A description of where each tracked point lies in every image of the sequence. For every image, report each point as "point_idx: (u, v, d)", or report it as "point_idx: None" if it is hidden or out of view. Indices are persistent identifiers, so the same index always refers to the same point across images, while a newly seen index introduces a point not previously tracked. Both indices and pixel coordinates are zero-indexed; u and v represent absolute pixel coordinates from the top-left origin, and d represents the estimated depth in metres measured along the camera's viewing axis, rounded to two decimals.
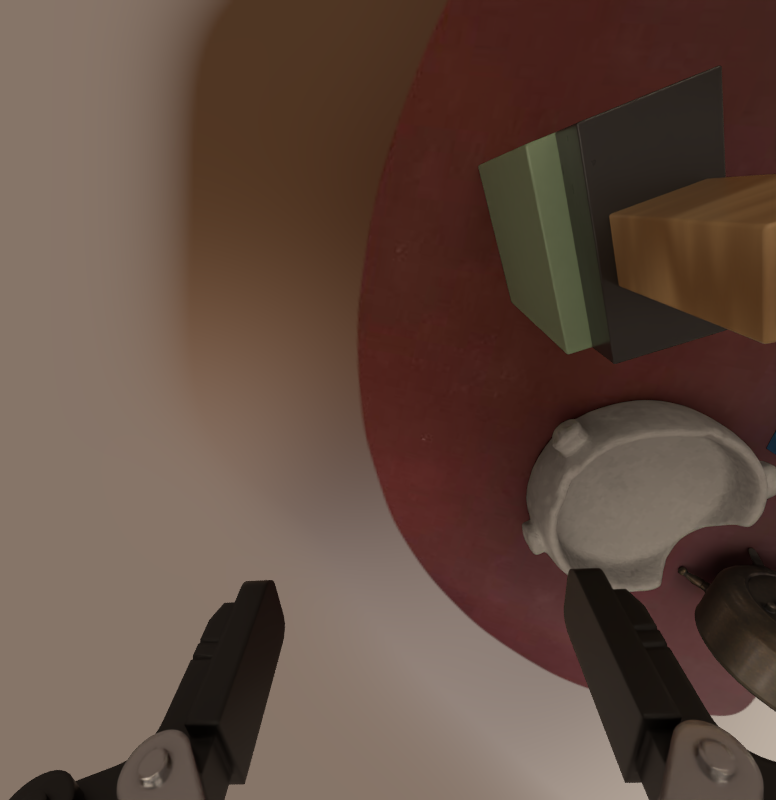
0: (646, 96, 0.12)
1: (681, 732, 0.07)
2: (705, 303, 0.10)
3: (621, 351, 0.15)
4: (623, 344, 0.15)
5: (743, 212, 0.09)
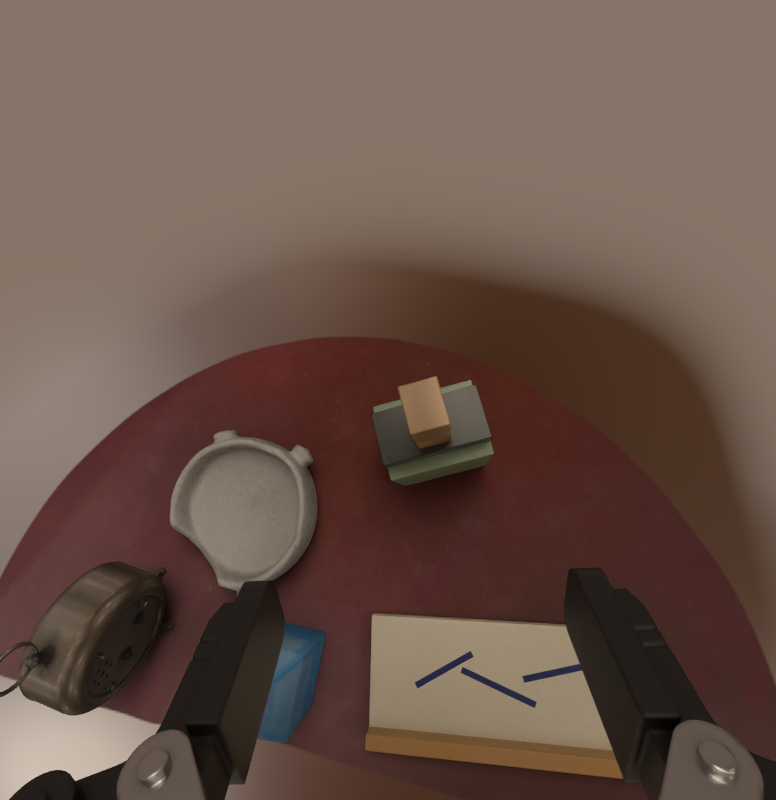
0: (483, 410, 0.31)
1: (681, 732, 0.07)
2: None
3: (377, 416, 0.32)
4: (380, 416, 0.32)
5: None
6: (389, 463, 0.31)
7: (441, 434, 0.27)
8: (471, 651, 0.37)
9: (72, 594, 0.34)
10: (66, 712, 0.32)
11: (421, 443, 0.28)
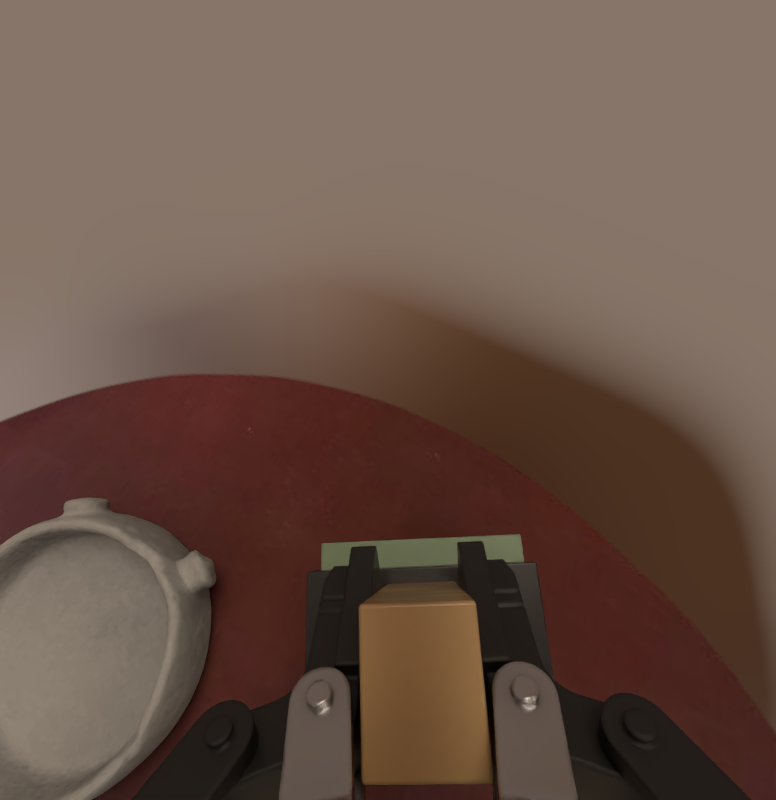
0: (544, 626, 0.14)
1: (503, 671, 0.08)
2: (389, 595, 0.10)
3: (318, 581, 0.15)
4: None
5: None
6: None
7: None
8: None
9: None
10: None
11: None
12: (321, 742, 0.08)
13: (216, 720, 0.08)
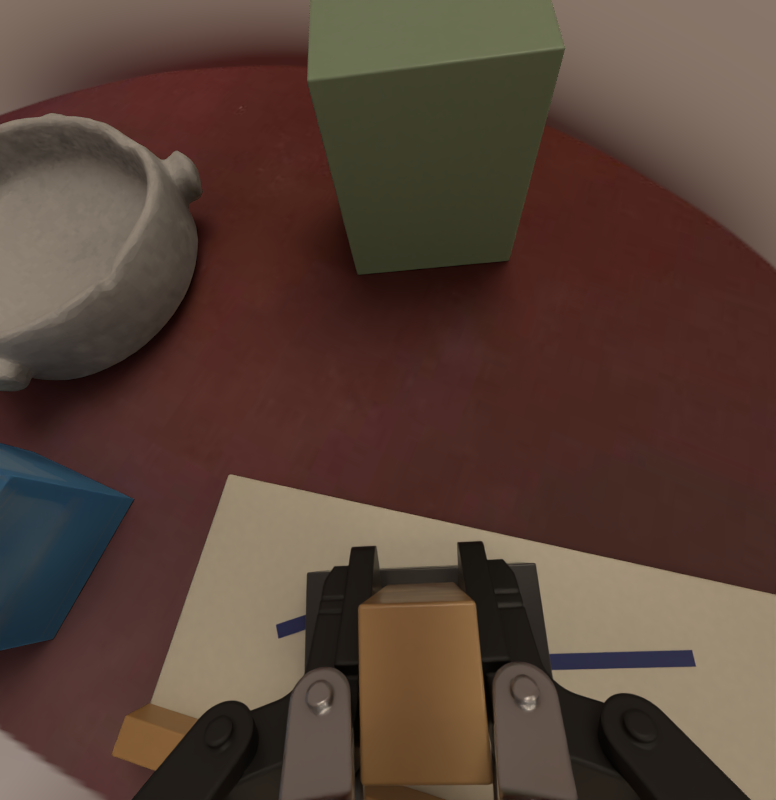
0: (544, 628, 0.14)
1: (503, 671, 0.08)
2: (388, 595, 0.10)
3: (318, 581, 0.15)
4: None
5: None
6: None
7: None
8: None
9: None
10: None
11: None
12: (321, 742, 0.08)
13: (216, 720, 0.08)
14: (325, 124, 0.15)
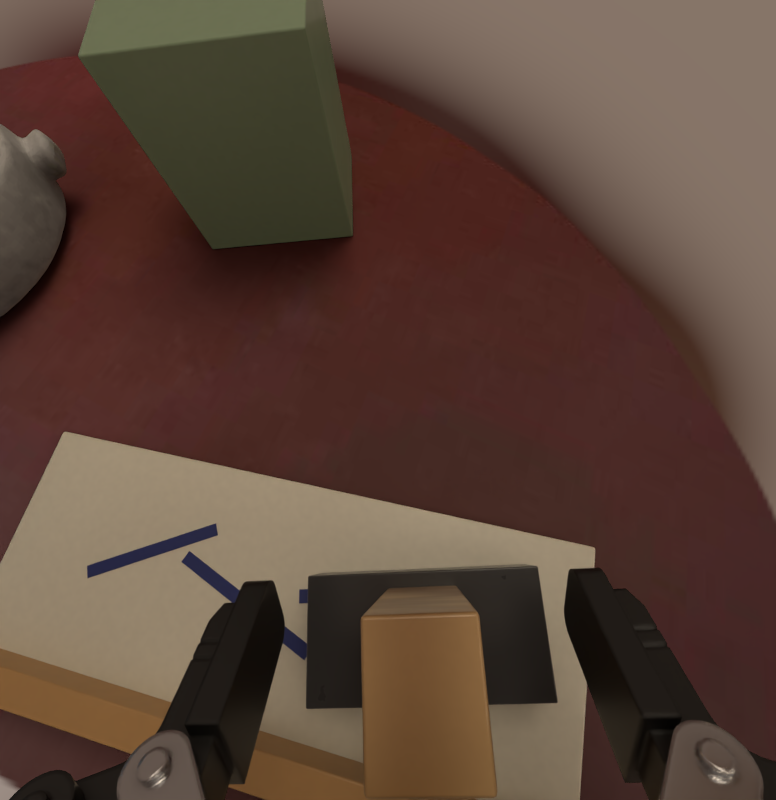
0: (546, 630, 0.14)
1: (681, 732, 0.07)
2: (390, 603, 0.10)
3: (319, 585, 0.15)
4: (326, 588, 0.15)
5: None
6: (319, 706, 0.14)
7: None
8: (217, 524, 0.18)
9: None
10: None
11: None
12: None
13: None
14: (113, 98, 0.16)
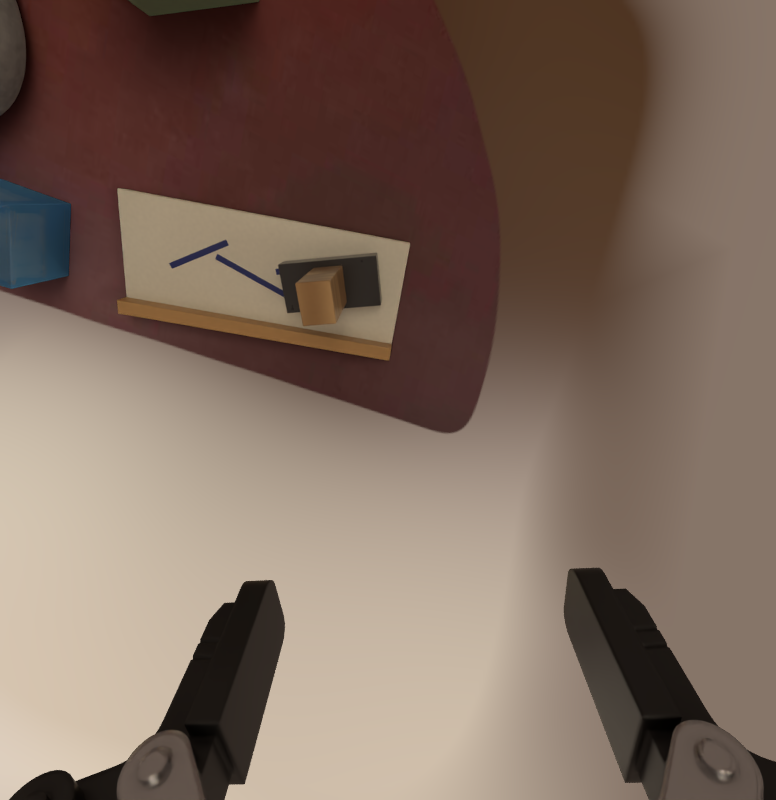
0: (378, 280, 0.35)
1: (681, 732, 0.07)
2: (307, 277, 0.30)
3: (283, 268, 0.35)
4: (286, 269, 0.35)
5: (334, 284, 0.30)
6: (292, 312, 0.36)
7: None
8: (227, 239, 0.36)
9: None
10: None
11: None
12: None
13: None
14: None
